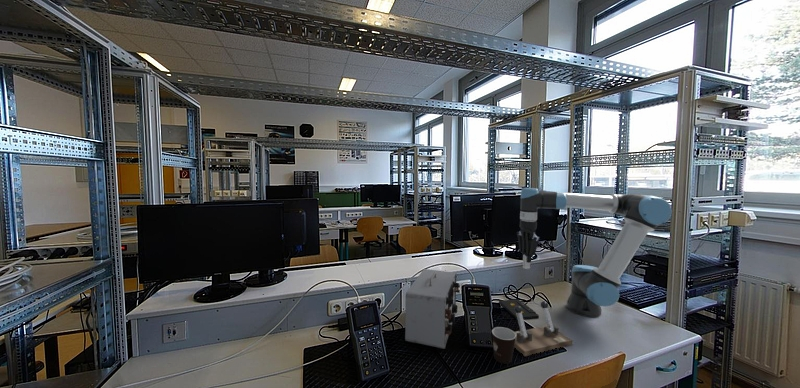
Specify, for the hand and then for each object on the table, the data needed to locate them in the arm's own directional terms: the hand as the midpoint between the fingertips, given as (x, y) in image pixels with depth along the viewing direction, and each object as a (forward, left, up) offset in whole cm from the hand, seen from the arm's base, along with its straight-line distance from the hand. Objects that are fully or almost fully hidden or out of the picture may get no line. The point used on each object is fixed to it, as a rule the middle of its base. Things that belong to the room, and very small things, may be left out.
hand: (526, 268), depth 138 cm
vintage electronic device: (+47, -3, -25) cm, 53 cm away
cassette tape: (-1, -6, -25) cm, 26 cm away
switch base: (+10, +19, -24) cm, 33 cm away
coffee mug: (+30, +22, -25) cm, 45 cm away
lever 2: (+3, +19, -20) cm, 28 cm away
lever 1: (+17, +19, -20) cm, 33 cm away
